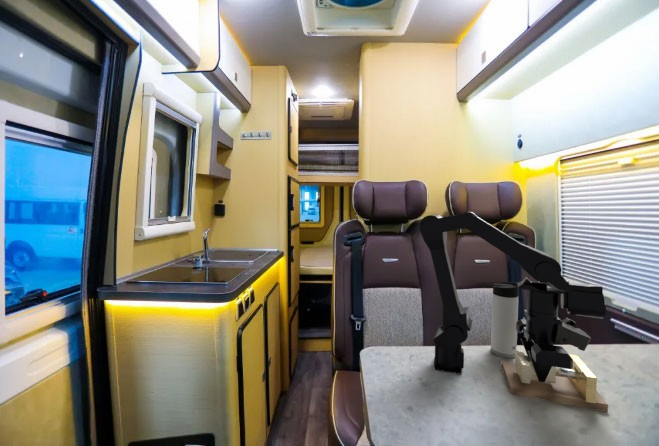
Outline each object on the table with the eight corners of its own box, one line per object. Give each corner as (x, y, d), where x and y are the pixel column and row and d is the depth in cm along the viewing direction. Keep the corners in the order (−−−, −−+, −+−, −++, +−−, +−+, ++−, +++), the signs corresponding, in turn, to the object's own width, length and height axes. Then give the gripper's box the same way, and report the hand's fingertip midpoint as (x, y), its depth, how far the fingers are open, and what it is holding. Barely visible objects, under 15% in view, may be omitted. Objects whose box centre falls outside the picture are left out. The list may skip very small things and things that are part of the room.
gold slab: (585, 401, 62) (587, 376, 62) (567, 376, 71) (568, 354, 71) (595, 403, 62) (596, 378, 61) (575, 377, 71) (576, 355, 70)
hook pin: (521, 382, 67) (522, 364, 67) (514, 366, 74) (515, 350, 74) (599, 395, 62) (600, 377, 62) (584, 377, 69) (585, 360, 69)
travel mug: (521, 359, 82) (524, 286, 81) (494, 357, 83) (497, 285, 82) (512, 348, 88) (515, 280, 87) (487, 346, 89) (489, 279, 88)
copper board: (511, 393, 67) (511, 387, 67) (501, 366, 78) (501, 360, 78) (607, 411, 61) (608, 404, 61) (582, 379, 73) (582, 373, 72)
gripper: (608, 331, 57) (604, 412, 58) (569, 301, 74) (566, 363, 75) (537, 323, 60) (535, 399, 61) (516, 296, 78) (514, 356, 79)
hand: (539, 377), depth 69 cm, fingers closed on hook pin, 3 cm apart
